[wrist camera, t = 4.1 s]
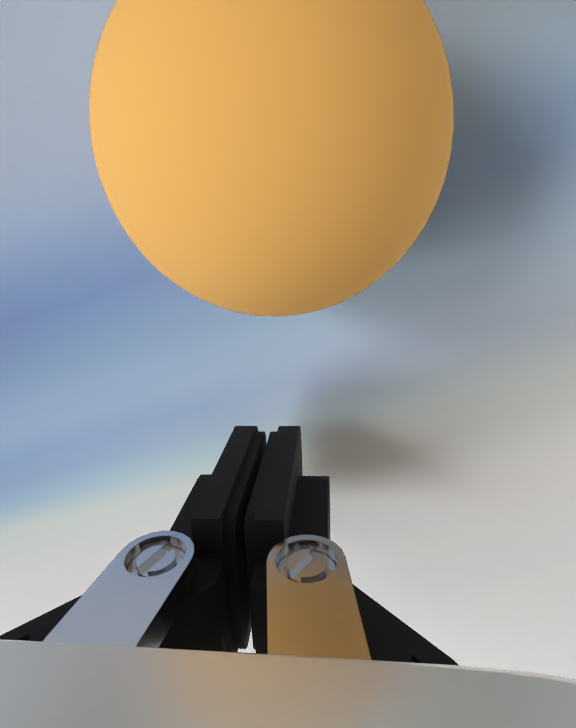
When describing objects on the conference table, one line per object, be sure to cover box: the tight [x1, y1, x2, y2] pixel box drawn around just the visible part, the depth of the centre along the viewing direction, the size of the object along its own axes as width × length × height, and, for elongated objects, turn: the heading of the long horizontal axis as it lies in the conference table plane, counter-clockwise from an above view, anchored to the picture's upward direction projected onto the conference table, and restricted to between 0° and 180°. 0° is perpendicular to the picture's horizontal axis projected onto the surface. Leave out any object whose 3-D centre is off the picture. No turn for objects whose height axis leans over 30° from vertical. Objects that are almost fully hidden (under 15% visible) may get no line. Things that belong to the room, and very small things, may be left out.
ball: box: [89, 0, 454, 316], centre depth 8 cm, size 6×6×6 cm
